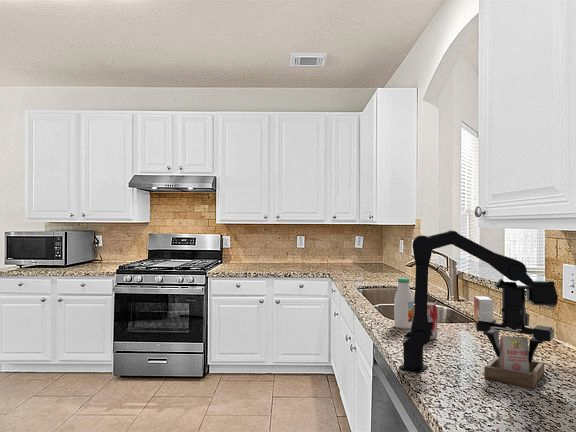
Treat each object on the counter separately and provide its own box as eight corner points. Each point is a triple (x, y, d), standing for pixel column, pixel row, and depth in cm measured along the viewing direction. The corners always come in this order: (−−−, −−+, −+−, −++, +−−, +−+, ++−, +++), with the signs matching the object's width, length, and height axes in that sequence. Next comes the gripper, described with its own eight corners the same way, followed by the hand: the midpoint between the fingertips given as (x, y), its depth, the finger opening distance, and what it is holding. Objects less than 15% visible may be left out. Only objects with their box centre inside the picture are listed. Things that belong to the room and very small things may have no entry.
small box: (473, 320, 189) (473, 295, 189) (487, 320, 188) (487, 296, 188) (479, 324, 181) (479, 299, 181) (493, 324, 180) (493, 299, 181)
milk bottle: (402, 330, 174) (402, 280, 174) (390, 325, 181) (390, 277, 181) (417, 327, 177) (417, 278, 177) (405, 323, 184) (405, 276, 184)
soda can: (421, 334, 167) (421, 300, 167) (440, 337, 163) (439, 302, 163) (414, 338, 162) (413, 303, 162) (433, 341, 157) (432, 305, 157)
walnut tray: (533, 389, 113) (533, 376, 113) (484, 379, 121) (484, 366, 121) (544, 374, 123) (543, 362, 123) (498, 365, 131) (498, 354, 131)
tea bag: (499, 369, 125) (499, 334, 125) (525, 371, 123) (525, 336, 123) (502, 373, 121) (502, 337, 121) (529, 375, 119) (528, 339, 119)
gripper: (557, 303, 122) (557, 359, 122) (487, 296, 134) (487, 346, 134) (549, 310, 114) (550, 370, 114) (475, 301, 126) (475, 355, 126)
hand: (514, 359), depth 122 cm, fingers closed on tea bag, 8 cm apart
